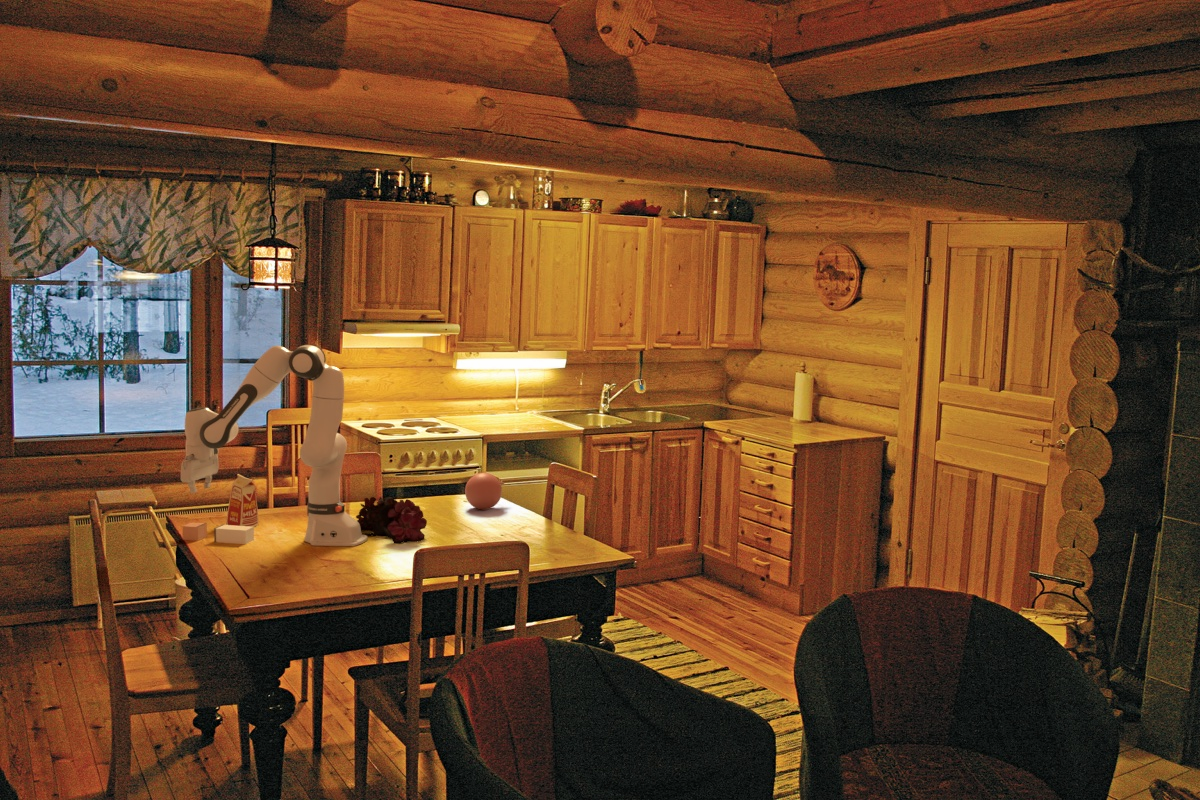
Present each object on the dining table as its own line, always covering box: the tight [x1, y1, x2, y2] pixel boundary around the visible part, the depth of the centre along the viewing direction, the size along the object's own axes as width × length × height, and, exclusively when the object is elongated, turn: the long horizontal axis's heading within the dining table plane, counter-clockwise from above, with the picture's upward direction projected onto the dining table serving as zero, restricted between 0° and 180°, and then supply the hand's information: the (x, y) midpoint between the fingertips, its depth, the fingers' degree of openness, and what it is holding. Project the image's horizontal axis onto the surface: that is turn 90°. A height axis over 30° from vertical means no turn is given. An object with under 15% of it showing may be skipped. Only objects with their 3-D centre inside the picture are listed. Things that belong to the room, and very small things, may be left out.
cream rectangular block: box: [213, 523, 255, 545], centre depth 383 cm, size 12×6×5 cm, turn 81°
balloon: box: [464, 472, 505, 511], centre depth 450 cm, size 15×20×15 cm
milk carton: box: [225, 473, 260, 528], centre depth 407 cm, size 9×9×20 cm
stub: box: [182, 522, 208, 542], centre depth 385 cm, size 6×6×5 cm
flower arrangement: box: [355, 496, 428, 545], centre depth 400 cm, size 31×20×15 cm, turn 55°
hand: (200, 490), depth 385 cm, fingers open, 8 cm apart
